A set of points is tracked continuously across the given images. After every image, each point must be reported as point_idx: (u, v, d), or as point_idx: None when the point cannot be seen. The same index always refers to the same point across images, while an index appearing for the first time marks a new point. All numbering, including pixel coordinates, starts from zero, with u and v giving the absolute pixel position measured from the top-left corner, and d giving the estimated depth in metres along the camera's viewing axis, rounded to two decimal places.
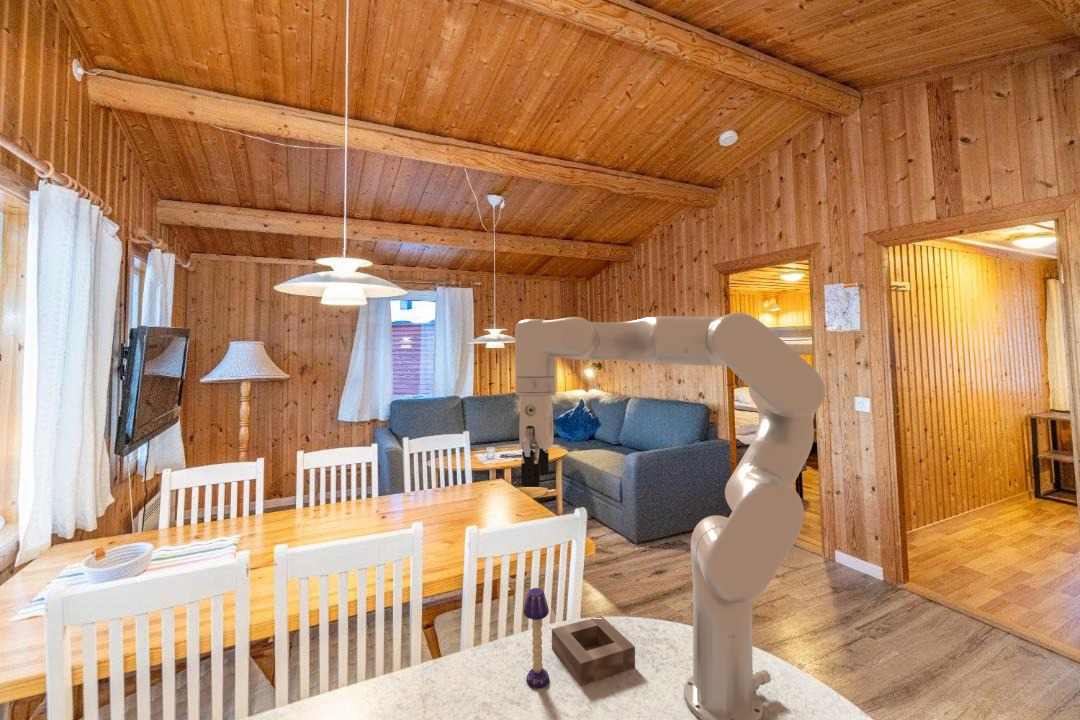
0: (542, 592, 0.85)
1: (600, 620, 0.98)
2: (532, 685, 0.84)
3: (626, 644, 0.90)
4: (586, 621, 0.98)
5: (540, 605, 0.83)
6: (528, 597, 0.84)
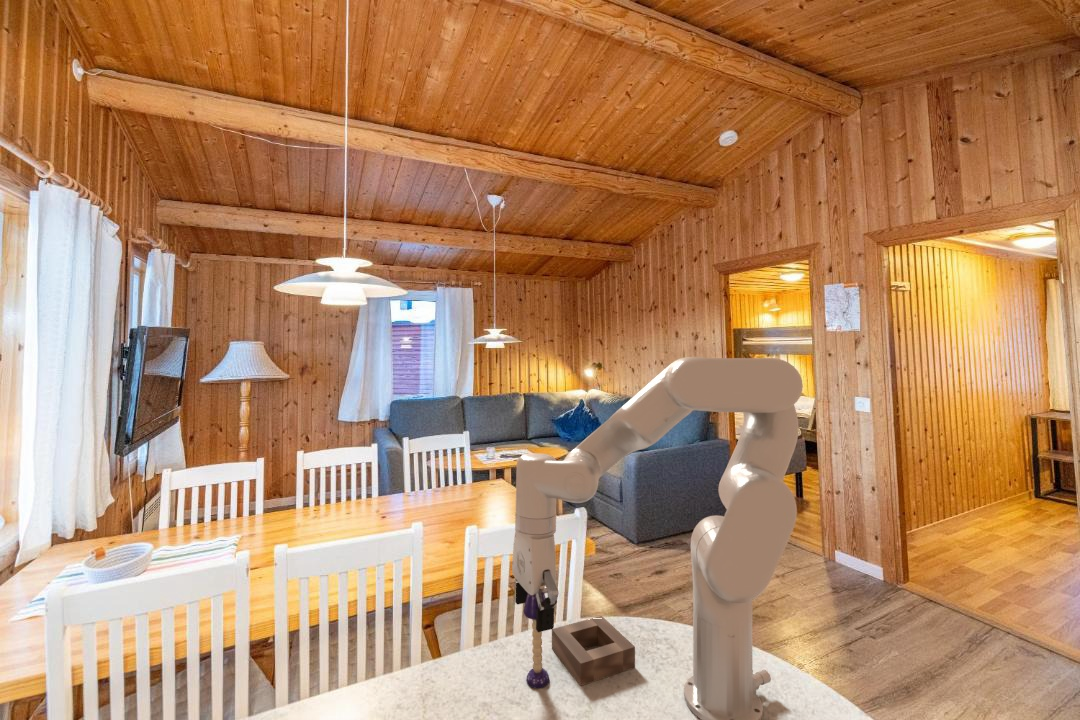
0: None
1: (600, 620, 0.98)
2: (532, 685, 0.84)
3: (626, 644, 0.90)
4: (586, 621, 0.98)
5: None
6: (528, 597, 0.84)
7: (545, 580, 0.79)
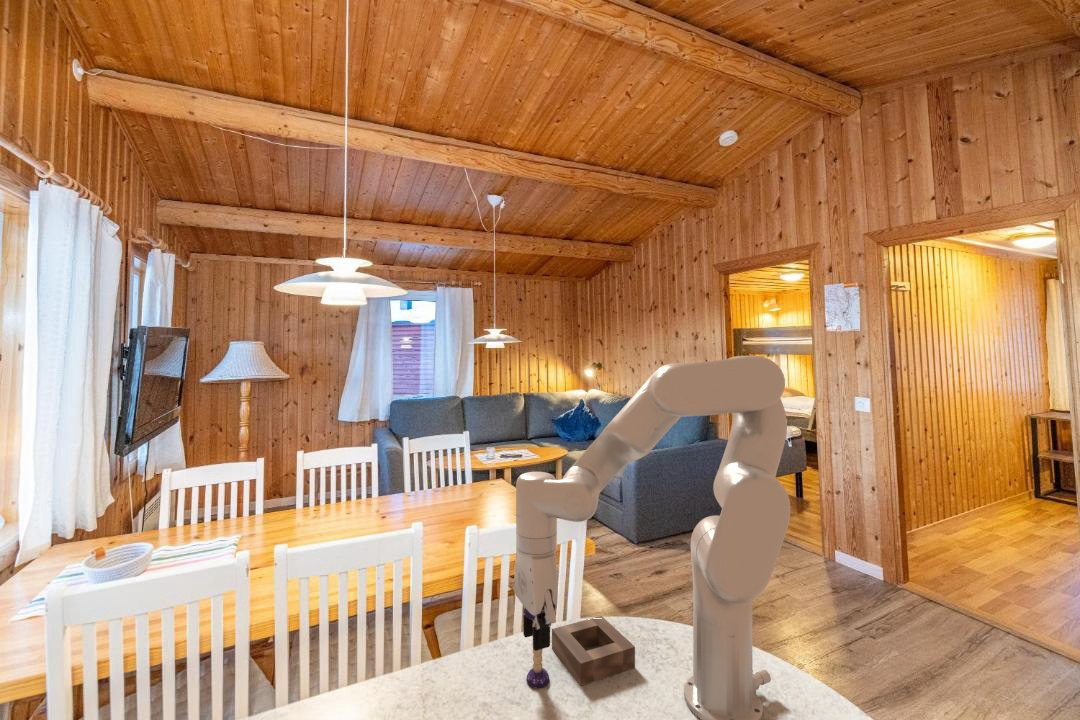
0: None
1: (600, 620, 0.98)
2: (532, 685, 0.84)
3: (626, 644, 0.90)
4: (586, 621, 0.98)
5: None
6: None
7: (545, 604, 0.80)
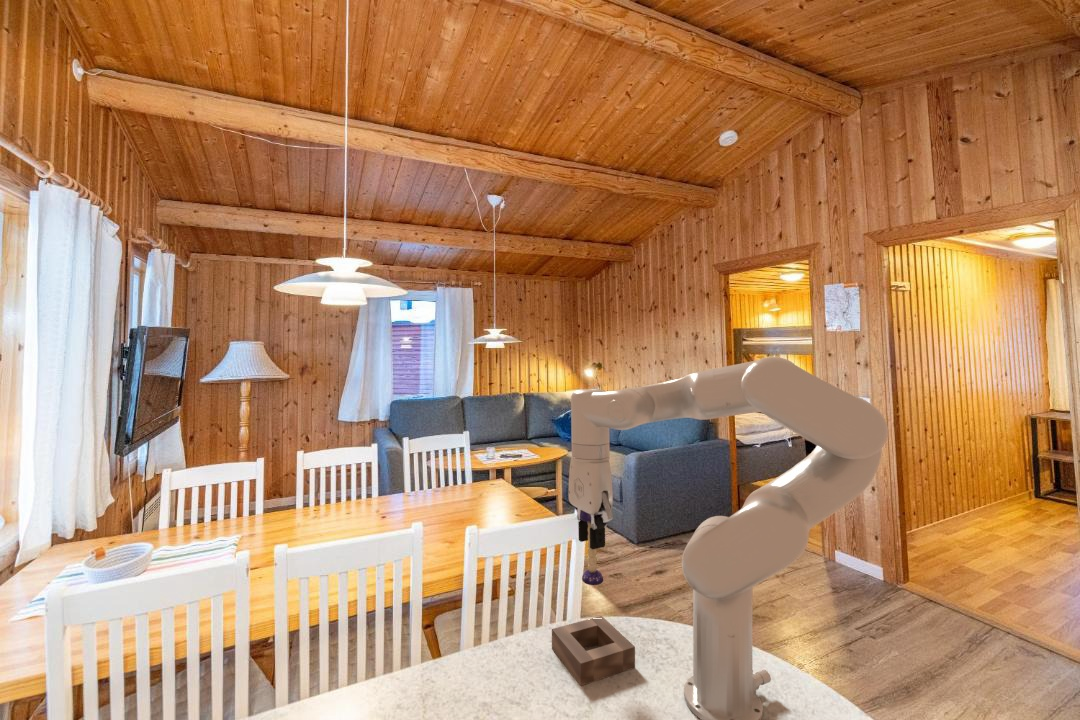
0: None
1: (600, 620, 0.98)
2: (588, 582, 0.91)
3: (626, 644, 0.90)
4: (586, 621, 0.98)
5: None
6: None
7: (602, 504, 0.87)
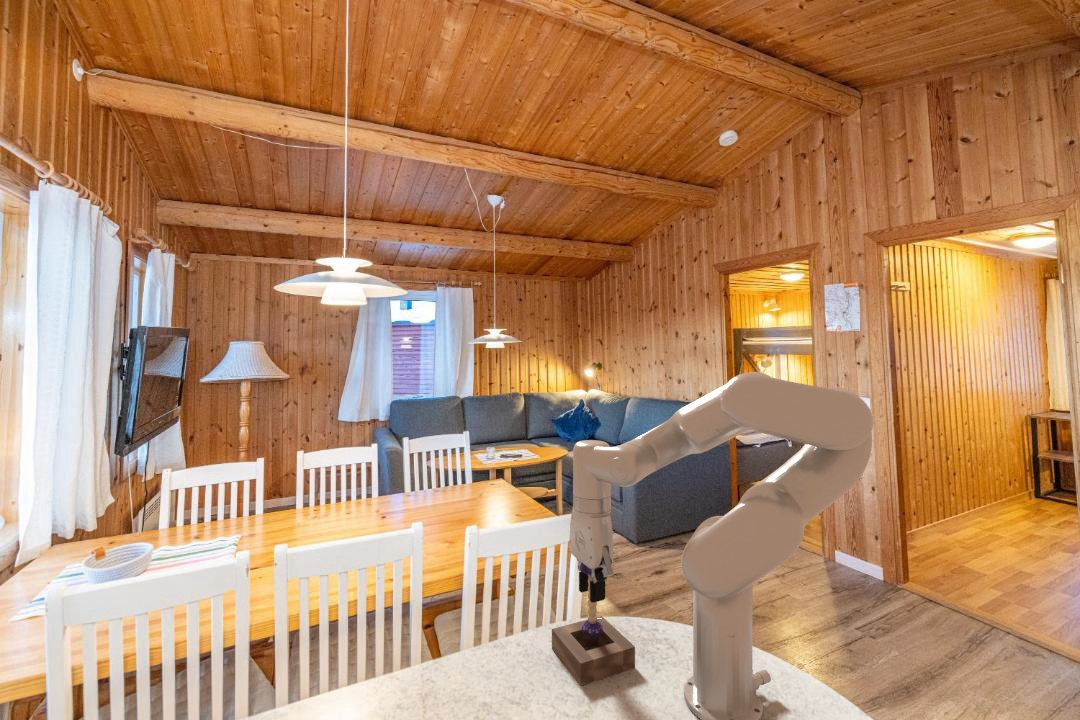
0: None
1: (600, 620, 0.98)
2: (588, 634, 0.91)
3: (626, 644, 0.90)
4: None
5: None
6: None
7: (602, 559, 0.87)
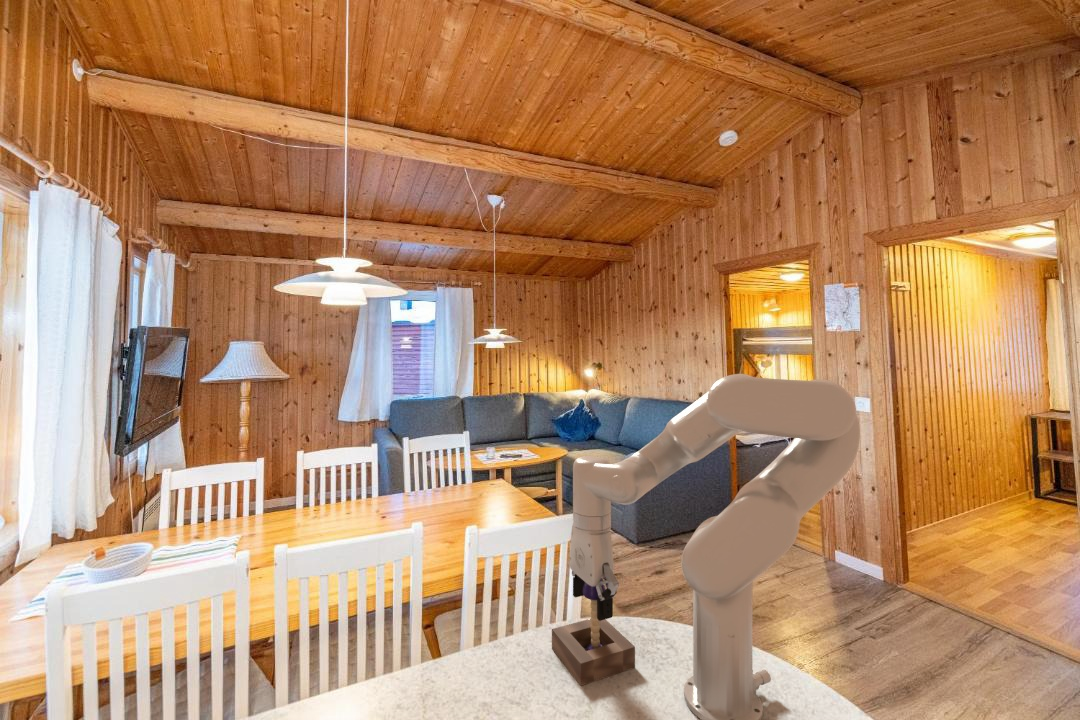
0: None
1: None
2: None
3: (626, 644, 0.90)
4: (586, 621, 0.98)
5: None
6: None
7: (605, 573, 0.86)
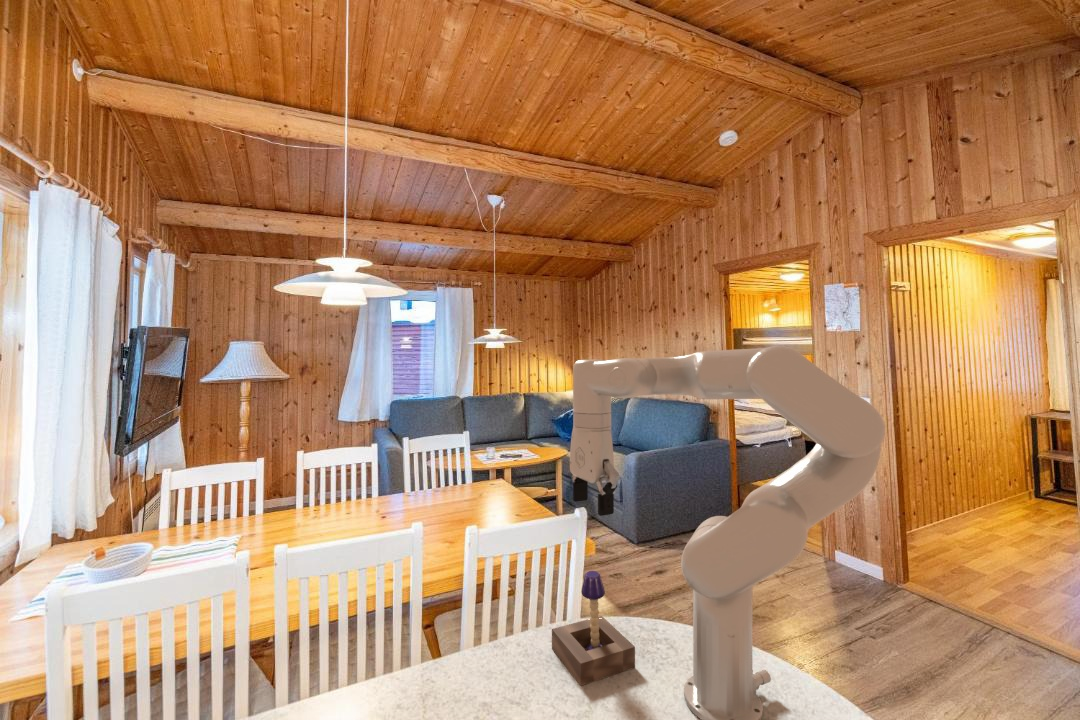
0: (598, 574, 0.92)
1: (600, 620, 0.98)
2: None
3: (626, 644, 0.90)
4: (586, 621, 0.98)
5: (598, 586, 0.90)
6: (586, 579, 0.91)
7: (605, 467, 0.86)
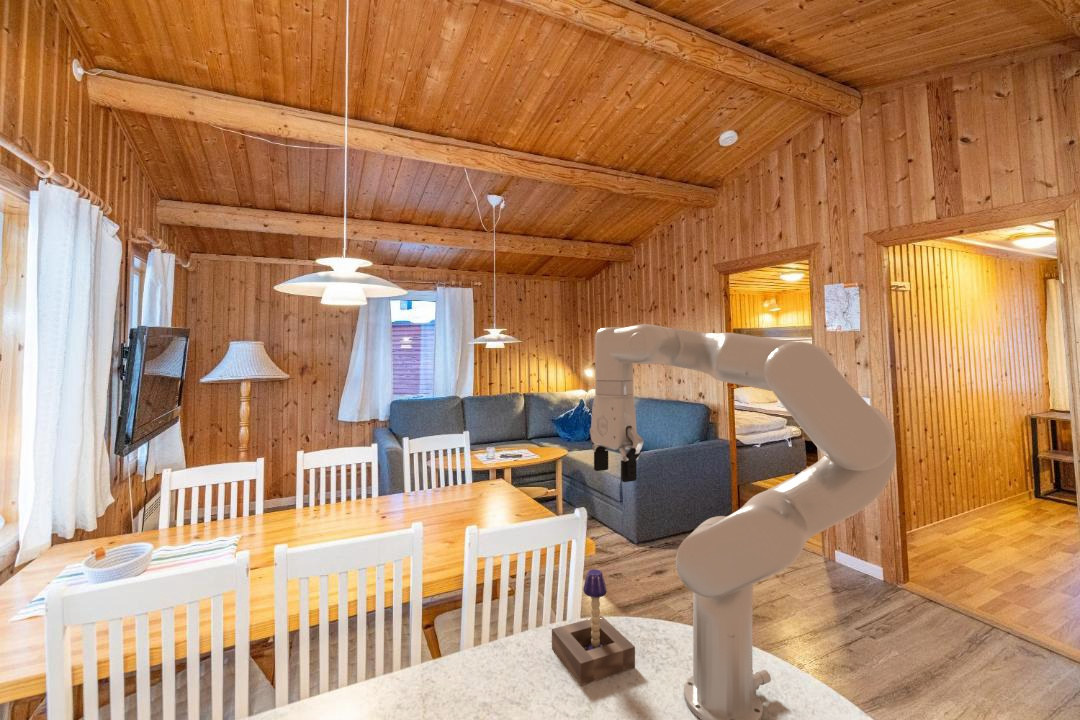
0: (601, 573, 0.92)
1: (600, 620, 0.98)
2: None
3: (626, 644, 0.90)
4: (586, 621, 0.98)
5: (600, 584, 0.91)
6: (588, 577, 0.92)
7: (629, 433, 0.86)
